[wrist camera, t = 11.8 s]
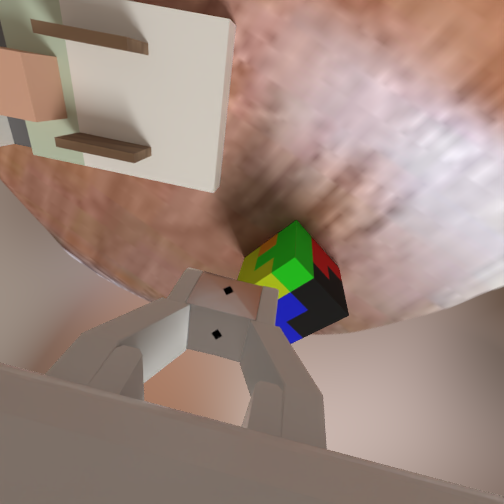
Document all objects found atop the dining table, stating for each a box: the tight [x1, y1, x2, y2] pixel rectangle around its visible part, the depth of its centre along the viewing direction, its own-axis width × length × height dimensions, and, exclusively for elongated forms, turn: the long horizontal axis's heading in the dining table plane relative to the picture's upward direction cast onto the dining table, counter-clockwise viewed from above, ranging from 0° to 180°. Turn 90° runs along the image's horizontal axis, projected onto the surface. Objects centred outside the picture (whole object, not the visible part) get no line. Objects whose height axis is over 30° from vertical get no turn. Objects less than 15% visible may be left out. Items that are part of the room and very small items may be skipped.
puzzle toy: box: [237, 220, 349, 344], centre depth 37 cm, size 10×10×10 cm
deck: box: [0, 0, 236, 193], centre depth 32 cm, size 17×31×3 cm, turn 81°
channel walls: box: [30, 19, 152, 163], centre depth 29 cm, size 11×9×4 cm
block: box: [0, 47, 67, 122], centre depth 29 cm, size 6×6×4 cm
